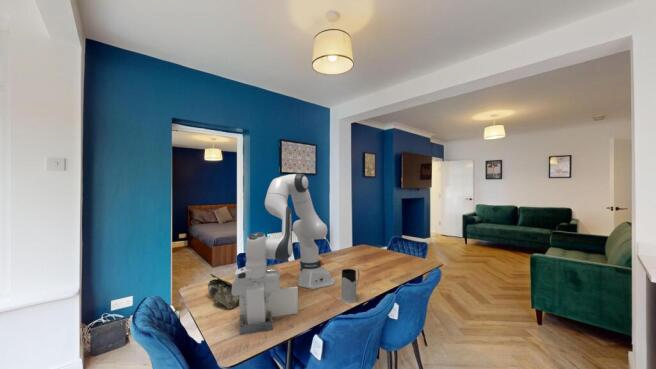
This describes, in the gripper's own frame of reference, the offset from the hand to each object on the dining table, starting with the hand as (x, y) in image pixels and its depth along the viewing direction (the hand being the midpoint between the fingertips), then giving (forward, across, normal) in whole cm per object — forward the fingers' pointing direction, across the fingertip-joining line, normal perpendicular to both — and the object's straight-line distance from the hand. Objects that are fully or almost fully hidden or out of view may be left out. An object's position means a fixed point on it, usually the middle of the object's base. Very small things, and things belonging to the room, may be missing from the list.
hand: (256, 302), depth 115 cm
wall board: (+9, -6, -5) cm, 12 cm away
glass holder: (+9, -50, -13) cm, 53 cm away
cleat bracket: (+9, 0, +2) cm, 9 cm away
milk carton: (+8, -1, 0) cm, 8 cm away
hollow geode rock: (+9, +14, -30) cm, 35 cm away
